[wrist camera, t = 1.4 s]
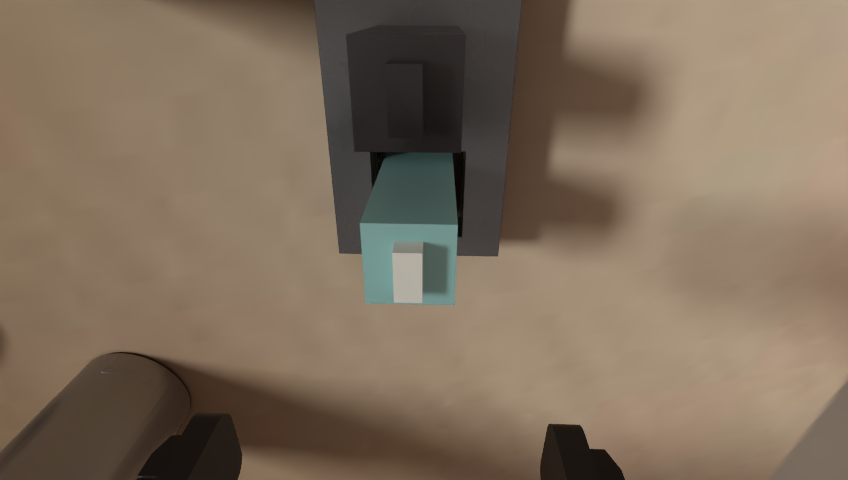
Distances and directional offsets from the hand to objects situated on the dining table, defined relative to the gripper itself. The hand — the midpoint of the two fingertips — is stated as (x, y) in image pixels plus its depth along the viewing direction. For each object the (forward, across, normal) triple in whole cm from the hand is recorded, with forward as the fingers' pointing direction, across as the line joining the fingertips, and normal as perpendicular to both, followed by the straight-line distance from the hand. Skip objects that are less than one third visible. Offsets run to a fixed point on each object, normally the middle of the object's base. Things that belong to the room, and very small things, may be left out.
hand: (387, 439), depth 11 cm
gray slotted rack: (+20, 0, -7) cm, 21 cm away
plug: (+20, 0, 0) cm, 20 cm away
